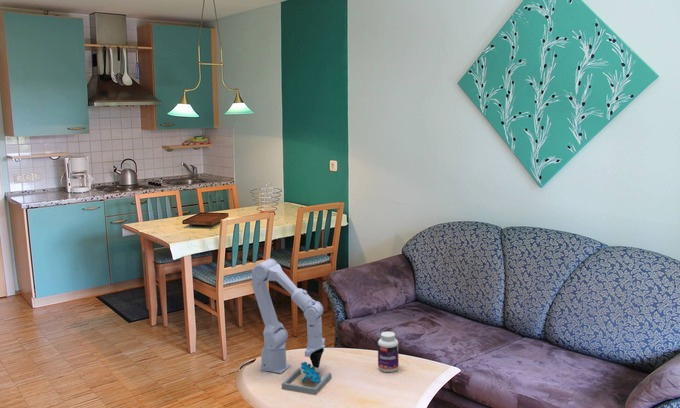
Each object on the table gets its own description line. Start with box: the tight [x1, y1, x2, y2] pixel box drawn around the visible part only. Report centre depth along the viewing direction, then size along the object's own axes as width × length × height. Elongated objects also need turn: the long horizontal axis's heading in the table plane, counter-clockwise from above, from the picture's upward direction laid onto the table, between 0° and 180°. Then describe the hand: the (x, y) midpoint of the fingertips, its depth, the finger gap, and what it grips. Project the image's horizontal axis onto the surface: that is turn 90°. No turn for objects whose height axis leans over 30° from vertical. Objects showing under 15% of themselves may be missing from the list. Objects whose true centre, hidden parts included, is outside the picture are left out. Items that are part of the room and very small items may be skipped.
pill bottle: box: [377, 331, 400, 373], centre depth 234 cm, size 8×8×14 cm
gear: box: [300, 361, 322, 385], centre depth 225 cm, size 11×6×10 cm
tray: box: [281, 367, 332, 396], centre depth 224 cm, size 14×14×2 cm
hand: (316, 367), depth 231 cm, fingers closed
